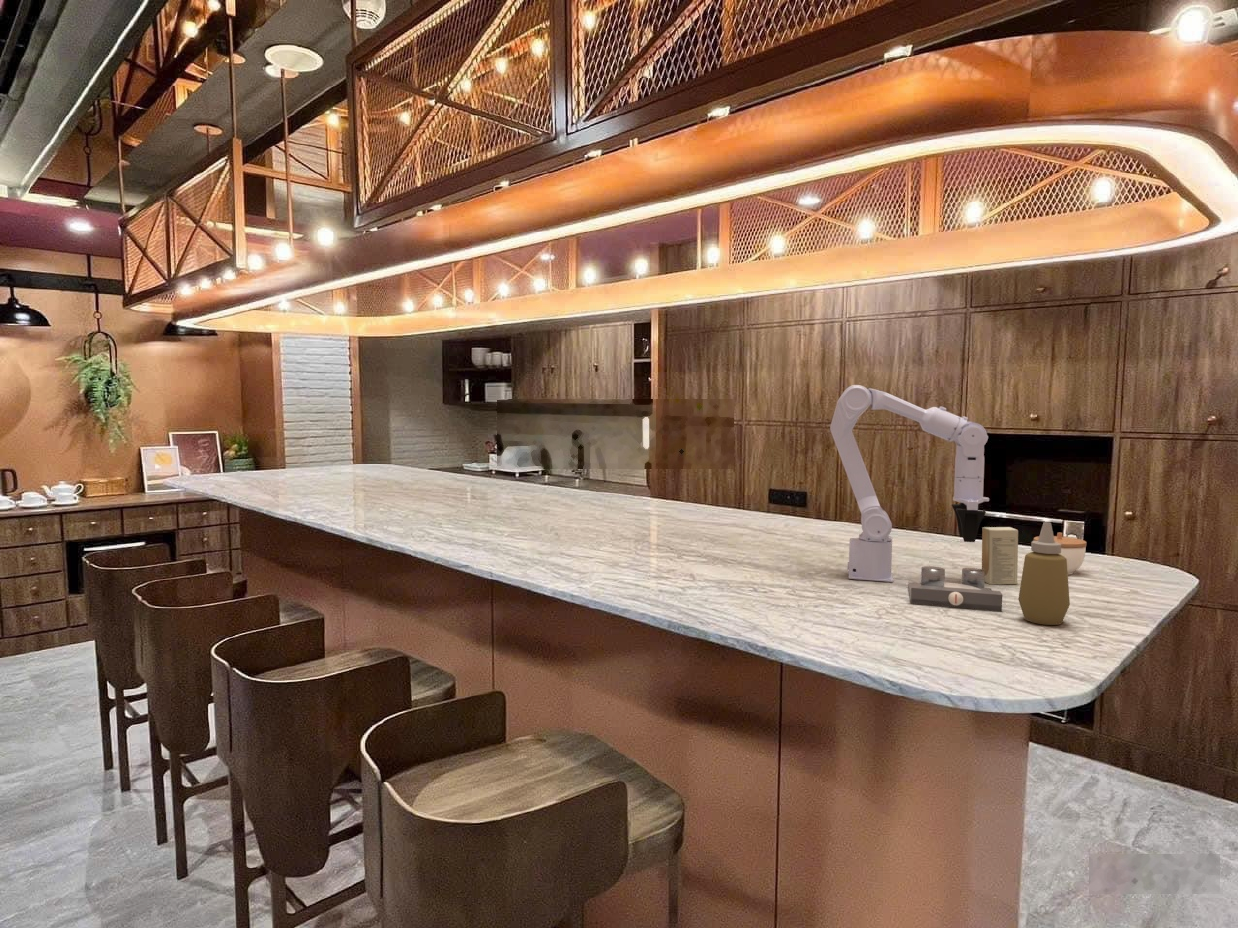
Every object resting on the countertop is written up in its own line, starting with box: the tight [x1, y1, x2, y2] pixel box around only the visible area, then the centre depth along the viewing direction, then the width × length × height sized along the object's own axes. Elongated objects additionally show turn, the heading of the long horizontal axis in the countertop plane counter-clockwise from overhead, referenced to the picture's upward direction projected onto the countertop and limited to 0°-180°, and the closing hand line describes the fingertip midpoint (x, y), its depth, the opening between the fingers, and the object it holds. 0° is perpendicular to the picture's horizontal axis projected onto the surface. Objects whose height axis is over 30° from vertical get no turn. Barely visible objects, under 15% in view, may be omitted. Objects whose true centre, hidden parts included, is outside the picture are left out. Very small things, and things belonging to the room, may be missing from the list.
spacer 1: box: [920, 565, 946, 587], centre depth 148 cm, size 4×4×4 cm
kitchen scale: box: [907, 581, 1003, 613], centre depth 146 cm, size 16×15×3 cm
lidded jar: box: [1032, 532, 1087, 576], centre depth 170 cm, size 11×11×9 cm
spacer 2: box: [961, 567, 986, 588], centre depth 154 cm, size 4×4×4 cm
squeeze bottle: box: [1017, 521, 1071, 626], centre depth 129 cm, size 8×8×18 cm
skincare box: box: [981, 526, 1019, 585], centre depth 160 cm, size 6×4×12 cm
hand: (967, 538), depth 158 cm, fingers open, 7 cm apart
